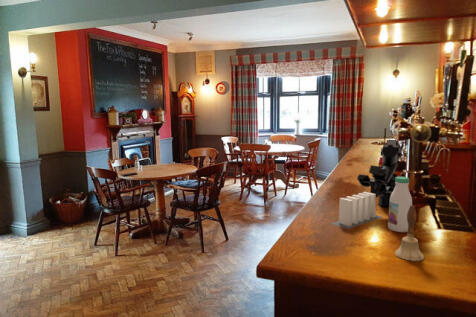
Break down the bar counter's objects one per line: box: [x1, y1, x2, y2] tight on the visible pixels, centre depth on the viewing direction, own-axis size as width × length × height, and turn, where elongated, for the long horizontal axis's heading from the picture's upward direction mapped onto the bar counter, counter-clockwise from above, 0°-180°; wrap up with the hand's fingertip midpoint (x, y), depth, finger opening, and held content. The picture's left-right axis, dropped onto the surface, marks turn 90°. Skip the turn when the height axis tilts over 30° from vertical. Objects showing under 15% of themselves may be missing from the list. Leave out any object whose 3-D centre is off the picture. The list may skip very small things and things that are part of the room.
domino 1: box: [338, 197, 353, 226], centre depth 137 cm, size 2×5×10 cm, turn 37°
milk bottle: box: [387, 176, 413, 233], centre depth 131 cm, size 8×8×20 cm
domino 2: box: [345, 195, 359, 224], centre depth 139 cm, size 2×5×10 cm, turn 37°
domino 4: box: [357, 192, 371, 220], centre depth 144 cm, size 2×5×10 cm, turn 37°
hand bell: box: [394, 204, 425, 262], centre depth 108 cm, size 8×8×16 cm
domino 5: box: [362, 191, 377, 218], centre depth 146 cm, size 2×5×10 cm, turn 37°
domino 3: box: [351, 194, 365, 222], centre depth 142 cm, size 2×5×10 cm, turn 37°
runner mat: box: [330, 214, 383, 230], centre depth 142 cm, size 24×8×1 cm, turn 127°
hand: (370, 199), depth 146 cm, fingers closed
